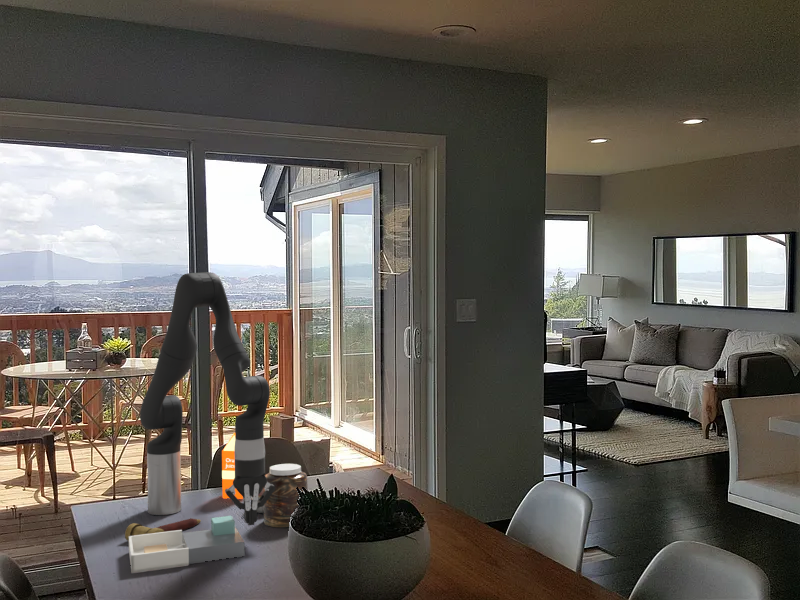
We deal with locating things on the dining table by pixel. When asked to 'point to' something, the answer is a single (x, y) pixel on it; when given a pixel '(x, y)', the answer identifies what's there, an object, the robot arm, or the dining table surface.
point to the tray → (159, 559)
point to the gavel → (140, 530)
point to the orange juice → (229, 467)
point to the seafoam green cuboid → (223, 525)
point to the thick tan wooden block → (155, 548)
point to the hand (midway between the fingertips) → (250, 524)
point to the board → (212, 545)
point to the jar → (283, 493)
